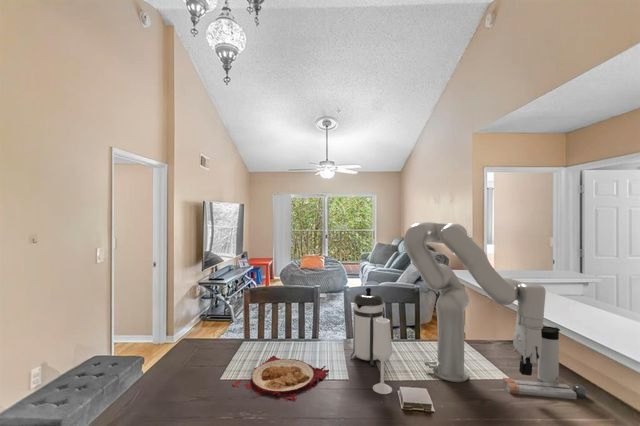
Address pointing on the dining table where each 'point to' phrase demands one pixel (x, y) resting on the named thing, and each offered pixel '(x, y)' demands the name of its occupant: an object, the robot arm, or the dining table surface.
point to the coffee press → (366, 324)
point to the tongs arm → (540, 391)
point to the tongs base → (577, 388)
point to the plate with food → (284, 377)
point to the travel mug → (549, 356)
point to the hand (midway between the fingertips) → (525, 373)
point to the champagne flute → (382, 350)
